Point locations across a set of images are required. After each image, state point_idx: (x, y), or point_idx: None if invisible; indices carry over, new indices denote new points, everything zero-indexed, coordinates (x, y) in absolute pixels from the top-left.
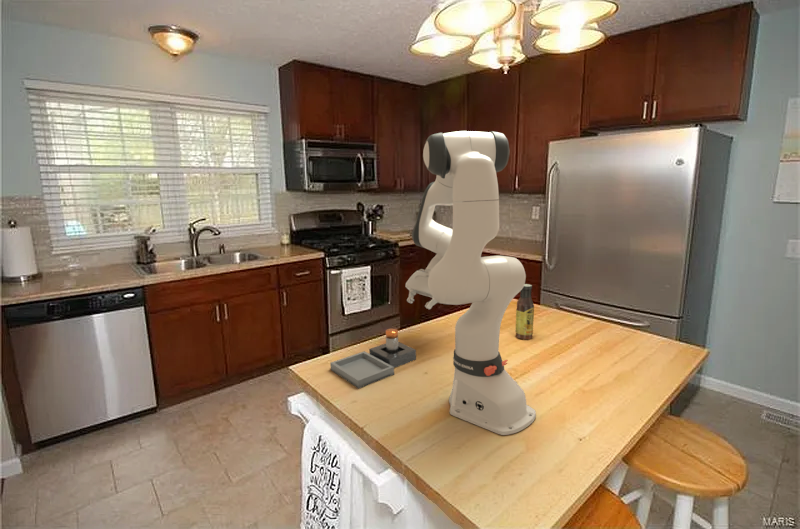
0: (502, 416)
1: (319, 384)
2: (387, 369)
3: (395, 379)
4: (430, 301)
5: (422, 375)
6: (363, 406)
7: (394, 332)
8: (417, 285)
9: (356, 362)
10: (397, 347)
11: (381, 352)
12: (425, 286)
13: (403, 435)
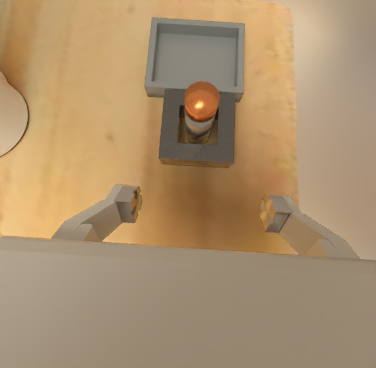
0: None
1: (209, 3)
2: (146, 72)
3: (133, 87)
4: (102, 206)
5: (108, 126)
6: (111, 10)
7: (186, 94)
8: (330, 298)
9: (226, 72)
10: (185, 125)
11: None
12: (205, 307)
13: (23, 4)
